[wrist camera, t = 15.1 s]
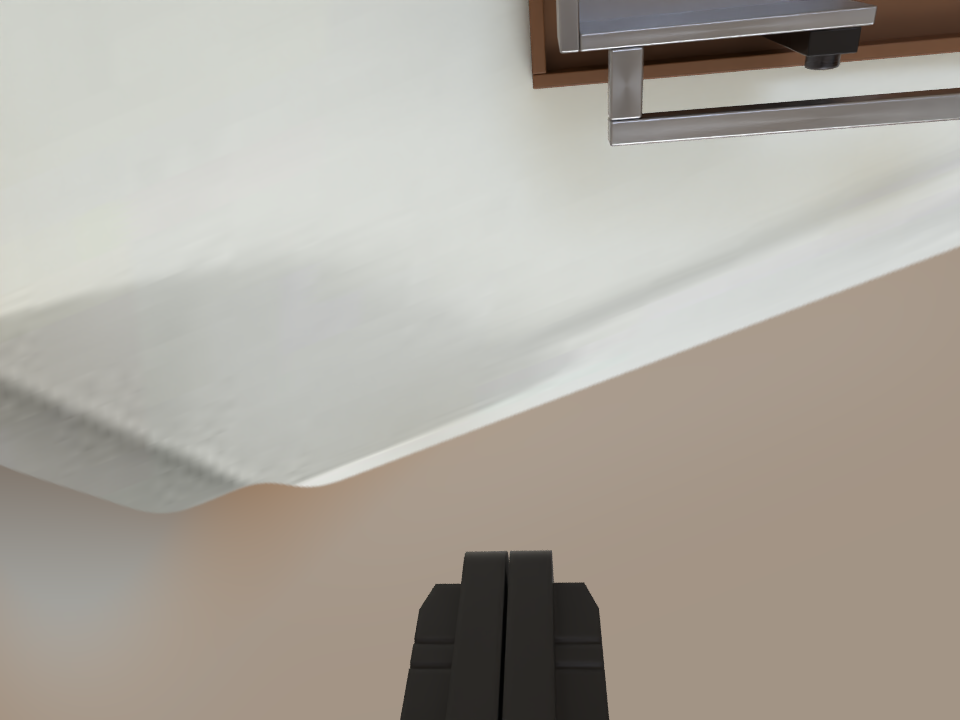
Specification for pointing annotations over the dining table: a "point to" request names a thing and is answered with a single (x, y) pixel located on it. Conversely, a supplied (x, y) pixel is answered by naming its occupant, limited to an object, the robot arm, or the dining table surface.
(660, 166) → the dining table surface
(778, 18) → the fryer basket
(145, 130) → the dining table surface
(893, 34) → the tray
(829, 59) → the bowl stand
